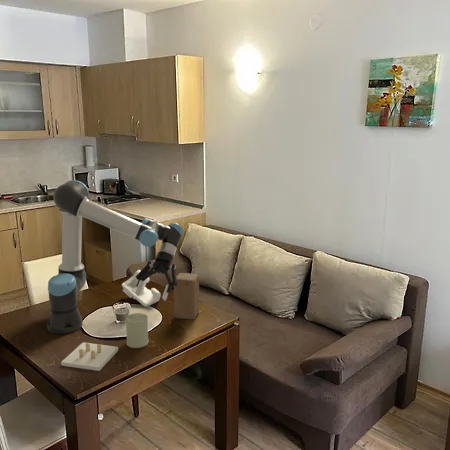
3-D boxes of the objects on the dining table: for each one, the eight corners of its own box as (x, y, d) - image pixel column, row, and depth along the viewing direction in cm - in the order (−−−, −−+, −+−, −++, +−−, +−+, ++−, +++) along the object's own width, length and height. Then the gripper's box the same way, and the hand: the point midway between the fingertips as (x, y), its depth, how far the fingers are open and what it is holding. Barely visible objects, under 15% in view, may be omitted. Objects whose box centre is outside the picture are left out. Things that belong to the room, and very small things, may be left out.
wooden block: (194, 320, 217) (193, 280, 212) (173, 318, 218) (173, 278, 214) (199, 311, 226) (199, 273, 221) (180, 310, 228) (179, 271, 223)
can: (130, 336, 201) (129, 311, 198) (151, 338, 199) (150, 312, 197) (123, 347, 192) (122, 320, 189) (144, 348, 191) (143, 322, 188)
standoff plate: (61, 365, 178) (60, 354, 176) (83, 345, 193) (82, 335, 192) (99, 370, 174) (98, 360, 173) (118, 350, 189) (117, 340, 188)
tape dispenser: (156, 307, 242) (165, 289, 236) (142, 315, 233) (150, 296, 227) (130, 284, 249) (138, 266, 243) (115, 291, 240) (123, 272, 234)
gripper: (193, 261, 210) (178, 304, 200) (145, 255, 219) (129, 296, 209) (187, 253, 203) (172, 297, 194) (139, 247, 213) (122, 289, 203)
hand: (150, 297), depth 201 cm, fingers open, 13 cm apart
